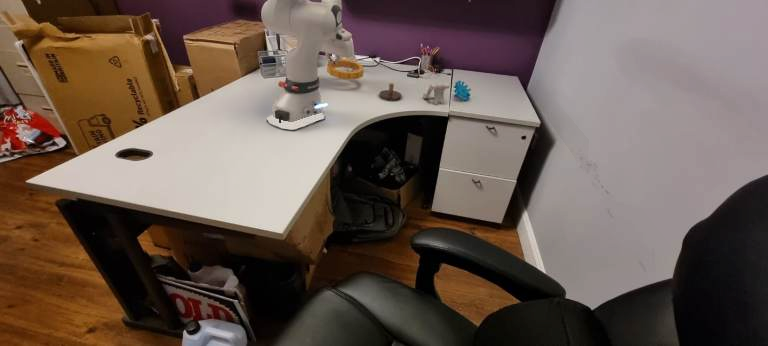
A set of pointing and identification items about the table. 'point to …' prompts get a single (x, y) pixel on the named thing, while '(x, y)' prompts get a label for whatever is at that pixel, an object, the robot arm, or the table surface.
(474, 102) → the table surface
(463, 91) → the gear
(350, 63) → the mustard ring
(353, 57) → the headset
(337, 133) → the table surface
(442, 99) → the tablet stand
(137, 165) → the table surface
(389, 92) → the ring stand
